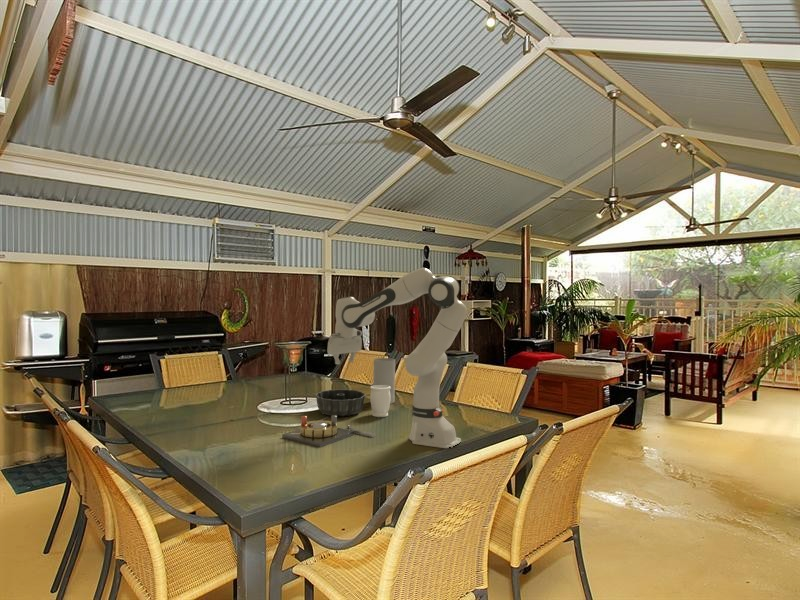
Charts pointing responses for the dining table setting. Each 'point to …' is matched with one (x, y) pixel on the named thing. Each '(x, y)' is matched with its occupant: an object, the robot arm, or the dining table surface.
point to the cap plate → (318, 440)
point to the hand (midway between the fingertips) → (344, 363)
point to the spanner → (360, 432)
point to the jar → (380, 400)
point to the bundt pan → (340, 402)
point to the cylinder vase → (385, 374)
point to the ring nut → (318, 432)
